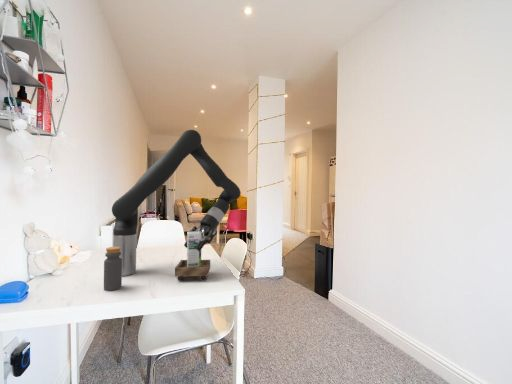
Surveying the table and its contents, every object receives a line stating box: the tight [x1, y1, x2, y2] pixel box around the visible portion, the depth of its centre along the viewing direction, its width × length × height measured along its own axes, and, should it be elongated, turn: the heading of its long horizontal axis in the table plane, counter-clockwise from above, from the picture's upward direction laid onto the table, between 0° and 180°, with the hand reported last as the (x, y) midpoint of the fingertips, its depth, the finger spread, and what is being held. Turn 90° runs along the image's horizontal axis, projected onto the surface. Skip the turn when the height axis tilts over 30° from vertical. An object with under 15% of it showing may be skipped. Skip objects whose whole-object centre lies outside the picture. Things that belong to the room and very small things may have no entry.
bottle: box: [103, 246, 123, 292], centre depth 97 cm, size 6×6×15 cm
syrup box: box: [186, 231, 202, 268], centre depth 111 cm, size 6×6×14 cm
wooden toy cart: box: [174, 259, 211, 282], centre depth 110 cm, size 13×13×6 cm
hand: (191, 248), depth 110 cm, fingers closed on syrup box, 8 cm apart
